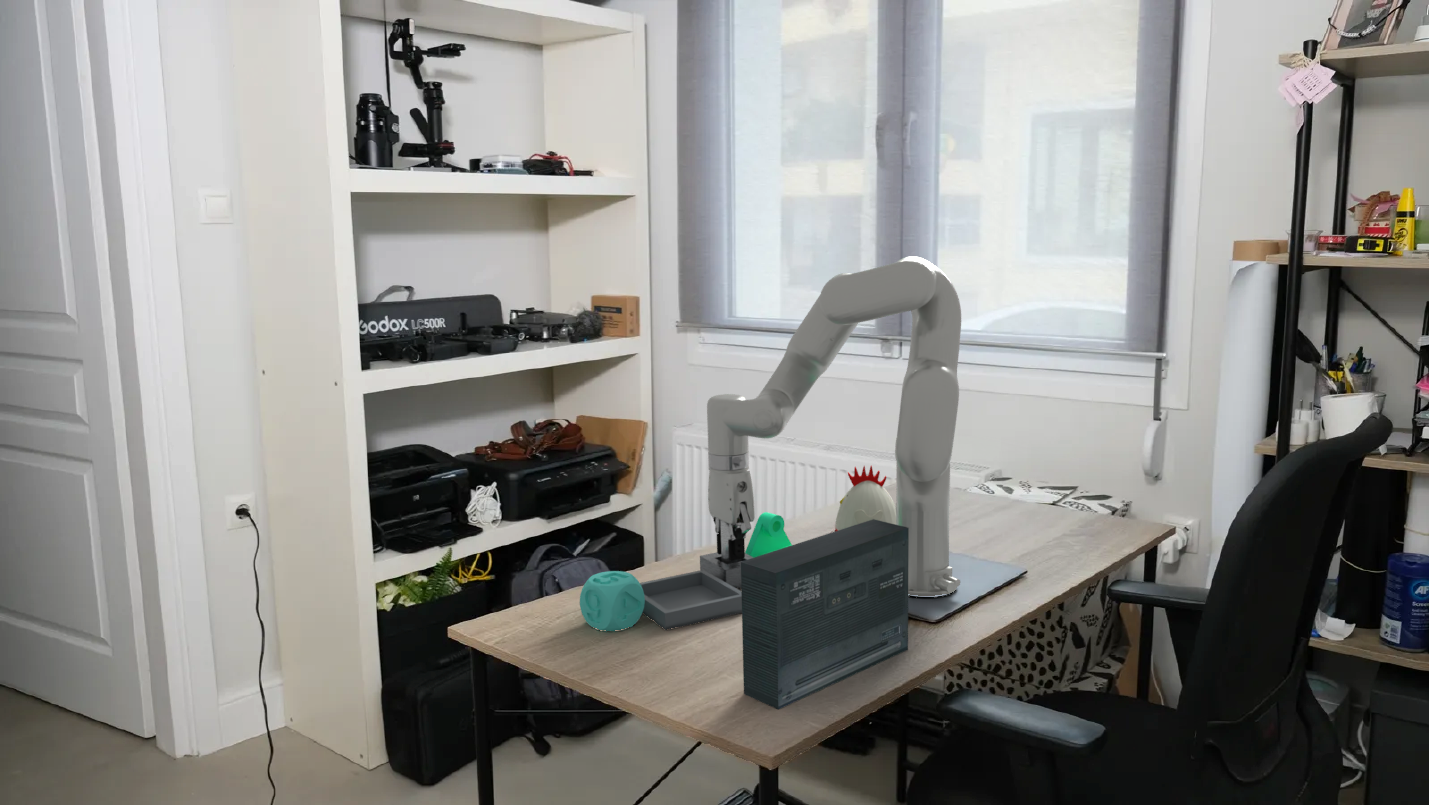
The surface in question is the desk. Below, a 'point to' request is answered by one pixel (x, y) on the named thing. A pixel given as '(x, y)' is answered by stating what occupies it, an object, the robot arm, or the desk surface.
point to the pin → (726, 543)
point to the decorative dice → (612, 600)
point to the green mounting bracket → (767, 535)
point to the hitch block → (723, 568)
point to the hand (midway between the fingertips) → (730, 555)
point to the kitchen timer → (865, 501)
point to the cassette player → (823, 610)
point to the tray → (689, 599)
